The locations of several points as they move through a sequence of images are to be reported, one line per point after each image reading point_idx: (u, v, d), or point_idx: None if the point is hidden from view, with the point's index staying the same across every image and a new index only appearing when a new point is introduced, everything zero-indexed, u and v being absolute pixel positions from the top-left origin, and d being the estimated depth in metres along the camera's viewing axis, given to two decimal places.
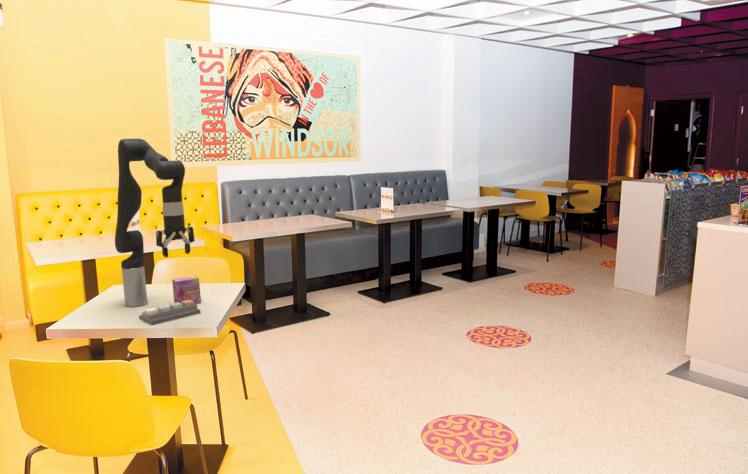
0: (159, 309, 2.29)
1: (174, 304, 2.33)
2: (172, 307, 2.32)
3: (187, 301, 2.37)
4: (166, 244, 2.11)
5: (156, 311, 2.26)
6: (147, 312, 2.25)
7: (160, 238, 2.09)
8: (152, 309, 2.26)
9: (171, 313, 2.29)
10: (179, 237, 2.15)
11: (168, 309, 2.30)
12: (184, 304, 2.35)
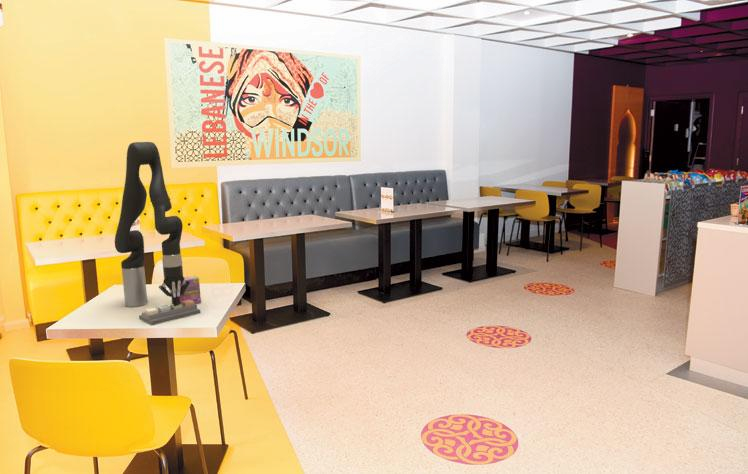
0: (159, 309, 2.29)
1: None
2: (172, 308, 2.32)
3: (187, 301, 2.37)
4: (174, 294, 2.31)
5: (156, 311, 2.26)
6: (147, 312, 2.25)
7: (166, 291, 2.29)
8: (152, 309, 2.26)
9: (171, 313, 2.29)
10: (175, 285, 2.31)
11: (168, 309, 2.30)
12: (184, 304, 2.35)
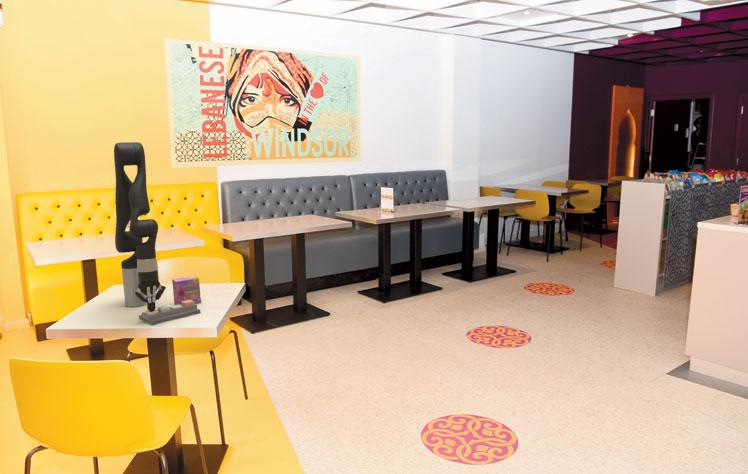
0: (159, 309, 2.29)
1: (174, 306, 2.33)
2: None
3: (187, 301, 2.37)
4: (149, 299, 2.24)
5: (156, 312, 2.26)
6: (147, 313, 2.25)
7: (140, 296, 2.21)
8: None
9: (171, 313, 2.29)
10: (150, 290, 2.24)
11: (168, 309, 2.30)
12: (184, 304, 2.35)
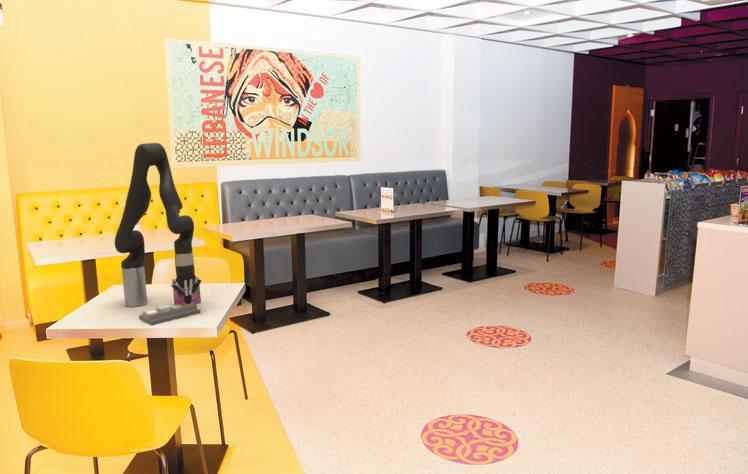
0: (159, 309, 2.29)
1: (174, 306, 2.33)
2: None
3: None
4: (186, 292, 2.35)
5: (156, 313, 2.26)
6: (147, 314, 2.25)
7: (178, 289, 2.32)
8: (152, 311, 2.27)
9: (171, 313, 2.29)
10: (187, 284, 2.35)
11: (168, 309, 2.30)
12: (184, 306, 2.35)
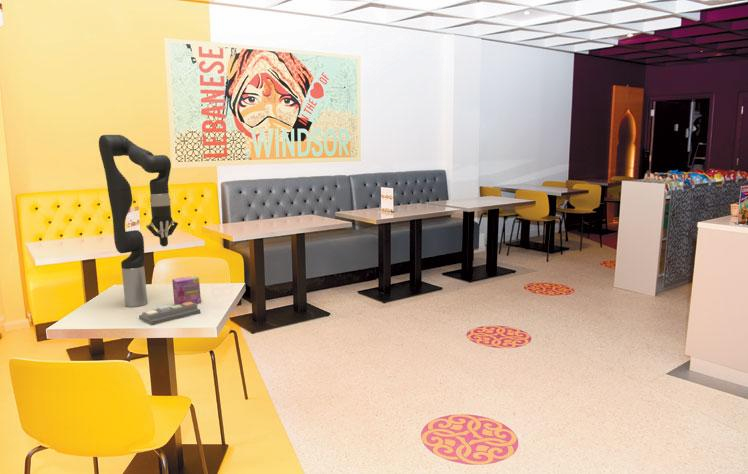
0: (159, 309, 2.29)
1: (174, 306, 2.33)
2: None
3: (187, 303, 2.37)
4: (162, 234, 2.29)
5: (156, 313, 2.26)
6: (147, 314, 2.25)
7: (153, 230, 2.27)
8: (152, 311, 2.27)
9: (171, 313, 2.29)
10: (163, 225, 2.29)
11: (168, 309, 2.30)
12: (184, 306, 2.35)
